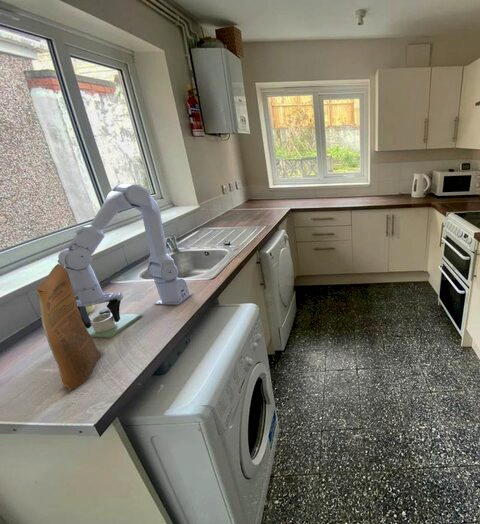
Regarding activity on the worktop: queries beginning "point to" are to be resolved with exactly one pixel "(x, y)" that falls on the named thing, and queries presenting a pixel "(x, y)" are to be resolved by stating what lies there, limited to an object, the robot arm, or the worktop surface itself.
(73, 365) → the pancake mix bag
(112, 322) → the cup
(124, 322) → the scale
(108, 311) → the scale button
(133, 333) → the worktop surface
